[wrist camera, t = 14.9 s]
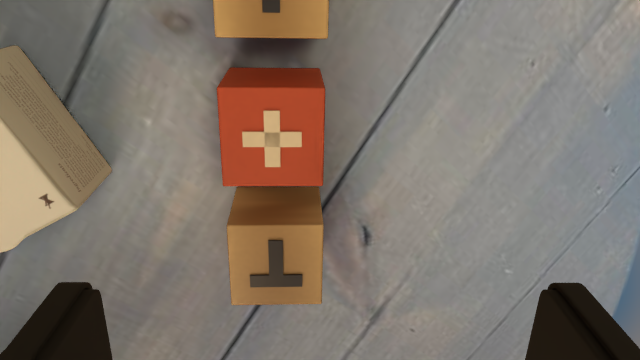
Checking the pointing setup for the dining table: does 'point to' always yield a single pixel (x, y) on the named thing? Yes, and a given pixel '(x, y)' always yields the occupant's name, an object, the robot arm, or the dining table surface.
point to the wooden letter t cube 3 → (275, 246)
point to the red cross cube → (272, 126)
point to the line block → (271, 18)
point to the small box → (39, 153)
